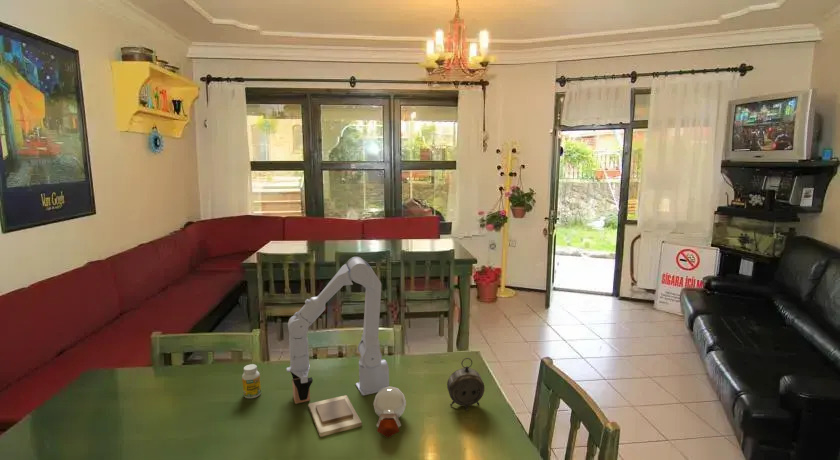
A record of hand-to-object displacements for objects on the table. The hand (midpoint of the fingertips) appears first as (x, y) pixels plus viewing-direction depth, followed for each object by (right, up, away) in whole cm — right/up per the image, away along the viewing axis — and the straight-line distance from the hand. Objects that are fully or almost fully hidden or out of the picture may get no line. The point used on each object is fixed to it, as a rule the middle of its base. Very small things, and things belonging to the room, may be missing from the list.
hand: (301, 393), depth 147 cm
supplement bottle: (-16, -2, +3) cm, 17 cm away
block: (0, -2, 0) cm, 2 cm away
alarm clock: (+52, -3, -4) cm, 52 cm away
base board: (+12, -4, -9) cm, 16 cm away
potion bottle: (+29, -4, -12) cm, 32 cm away
